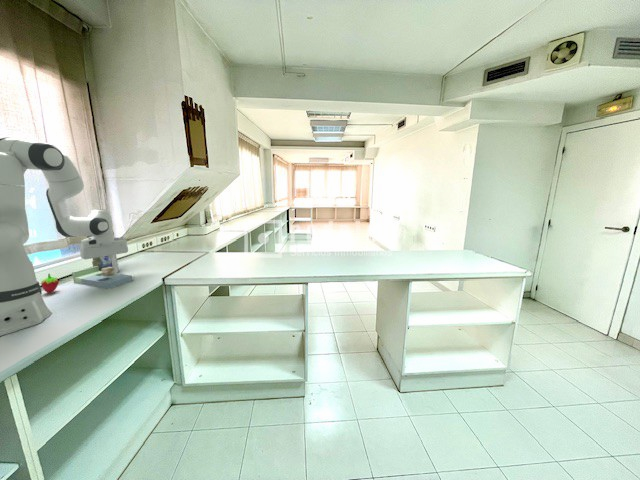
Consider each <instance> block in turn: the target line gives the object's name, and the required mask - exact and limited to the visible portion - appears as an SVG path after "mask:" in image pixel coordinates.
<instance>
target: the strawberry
mask: <svg viewBox="0 0 640 480" xmlns="http://www.w3.org/2000/svg"><path fill="white" fill-rule="evenodd" d="M47 274H48V276H47V277H46V278H44V279H43V280H41V282H40V287H41V288H42V289H43V290H44V291H45V292H46V293H48V294H51V293H53V292H55V291H56V290H57V287H58V285H59V283H60V282H59V279H58V278H57V277H55V276H53V277H52V276H51V274H50V273H47Z"/></svg>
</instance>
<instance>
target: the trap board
mask: <svg viewBox="0 0 640 480" xmlns="http://www.w3.org/2000/svg"><path fill="white" fill-rule="evenodd" d="M71 275H72V279H73V284H79V285H86V286H92V287H97V288H104V289H113V288H115V287H119V286H121V285H124V284H127V283H130V282H133V281H134V280H133V275H131V274H125V273H118V272H117V273H115V274H114V275H111V276H103V275H102V271H99V267H98V266H94V267H93V266H90V267H87V268H83V269H79V270H75V271H72V272H71Z"/></svg>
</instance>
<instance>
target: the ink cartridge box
mask: <svg viewBox="0 0 640 480" xmlns="http://www.w3.org/2000/svg"><path fill="white" fill-rule="evenodd" d="M103 259H104V260H108V259H109V257H108V256H105V258H103ZM100 260H101V259H100ZM118 262H119V261H118V257H117V254H116V255H113V258H112V259H111V263H110V264H103V261H102V260H101V264H102V268H106V267H114V270H115V273H118V272H119V271H120V268H119V263H118Z"/></svg>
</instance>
